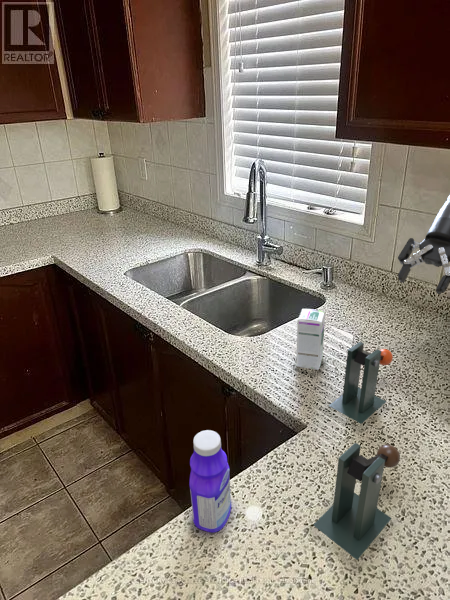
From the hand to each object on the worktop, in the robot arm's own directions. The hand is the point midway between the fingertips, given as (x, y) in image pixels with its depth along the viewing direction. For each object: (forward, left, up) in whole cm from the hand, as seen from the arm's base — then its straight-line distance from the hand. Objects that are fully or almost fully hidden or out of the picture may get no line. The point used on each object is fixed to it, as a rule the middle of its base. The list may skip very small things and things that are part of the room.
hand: (419, 286), depth 99 cm
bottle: (+23, +56, -22) cm, 65 cm away
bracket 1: (+7, +19, -22) cm, 30 cm away
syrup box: (+21, +8, -22) cm, 32 cm away
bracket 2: (+2, +48, -22) cm, 53 cm away
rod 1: (+6, +16, -13) cm, 21 cm away
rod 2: (+1, +45, -13) cm, 46 cm away
